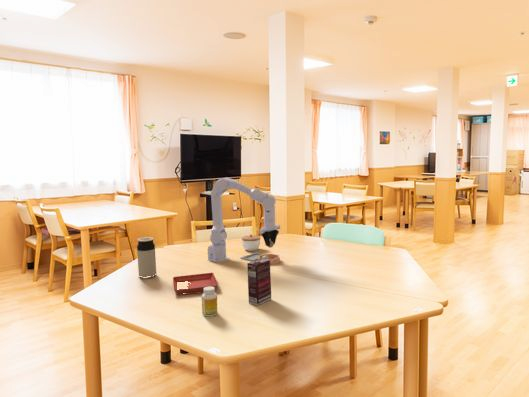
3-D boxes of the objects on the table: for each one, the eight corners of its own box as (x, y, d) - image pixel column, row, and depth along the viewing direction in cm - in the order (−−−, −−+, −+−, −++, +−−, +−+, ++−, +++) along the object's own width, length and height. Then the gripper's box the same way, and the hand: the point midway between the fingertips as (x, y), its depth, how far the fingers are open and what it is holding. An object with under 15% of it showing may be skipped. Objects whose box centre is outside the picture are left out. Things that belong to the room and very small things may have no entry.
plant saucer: (174, 297, 162) (173, 289, 162) (172, 283, 179) (172, 276, 179) (218, 292, 166) (218, 284, 166) (213, 279, 184) (213, 272, 183)
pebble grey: (267, 264, 206) (264, 259, 204) (262, 263, 208) (259, 258, 206) (271, 259, 207) (268, 254, 205) (266, 257, 210) (263, 253, 208)
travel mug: (151, 279, 185) (149, 240, 183) (135, 278, 187) (133, 240, 184) (159, 274, 193) (157, 237, 191) (144, 273, 194) (141, 236, 192)
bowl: (270, 266, 201) (269, 260, 200) (253, 262, 208) (253, 257, 207) (283, 261, 209) (283, 256, 208) (267, 258, 216) (267, 252, 216)
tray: (253, 262, 209) (252, 260, 209) (240, 259, 215) (240, 257, 215) (268, 257, 218) (268, 255, 218) (255, 254, 224) (255, 252, 224)
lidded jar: (239, 249, 237) (238, 233, 236) (256, 247, 241) (255, 231, 240) (246, 253, 227) (245, 237, 226) (263, 251, 231) (263, 235, 230)
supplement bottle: (199, 314, 144) (198, 288, 143) (211, 309, 148) (210, 284, 147) (208, 318, 140) (207, 291, 139) (220, 313, 144) (219, 287, 143)
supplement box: (262, 296, 160) (261, 257, 158) (271, 299, 157) (270, 259, 155) (247, 303, 153) (246, 262, 151) (257, 306, 150) (256, 265, 148)
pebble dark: (270, 248, 205) (270, 241, 205) (265, 247, 208) (265, 240, 207) (275, 247, 208) (275, 240, 208) (269, 246, 211) (269, 239, 210)
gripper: (266, 221, 198) (266, 248, 200) (284, 217, 209) (285, 243, 211) (255, 220, 203) (256, 246, 204) (274, 216, 214) (274, 241, 215)
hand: (270, 245), depth 208 cm, fingers closed on pebble dark, 4 cm apart
